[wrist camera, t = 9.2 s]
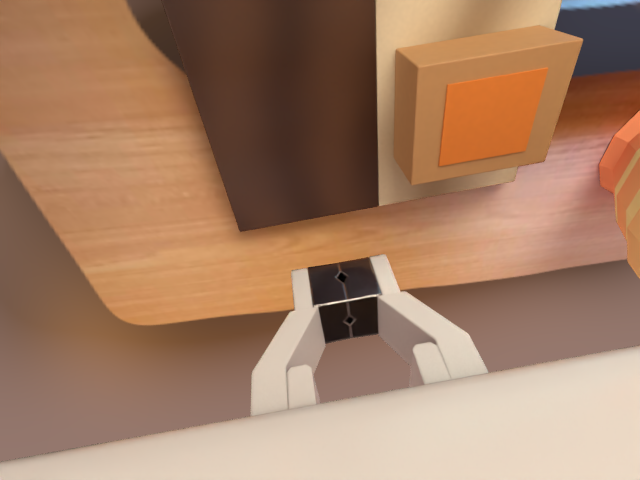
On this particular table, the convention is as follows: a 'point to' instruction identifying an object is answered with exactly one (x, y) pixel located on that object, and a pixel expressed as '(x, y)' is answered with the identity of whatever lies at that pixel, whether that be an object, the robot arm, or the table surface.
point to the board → (320, 95)
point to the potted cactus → (625, 184)
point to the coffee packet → (480, 101)
